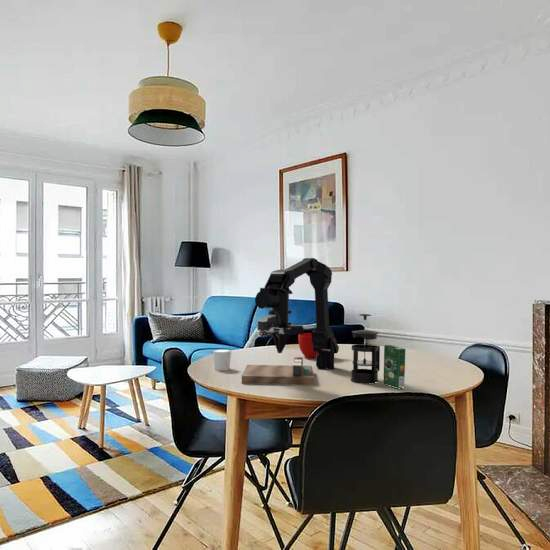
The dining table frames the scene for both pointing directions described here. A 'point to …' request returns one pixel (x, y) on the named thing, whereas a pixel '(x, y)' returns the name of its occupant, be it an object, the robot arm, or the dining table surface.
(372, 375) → the french press
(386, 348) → the coffee box
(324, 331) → the robot arm
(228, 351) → the white cylinder
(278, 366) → the stool seat
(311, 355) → the ceramic cup
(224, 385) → the dining table surface
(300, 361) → the hinged leg
